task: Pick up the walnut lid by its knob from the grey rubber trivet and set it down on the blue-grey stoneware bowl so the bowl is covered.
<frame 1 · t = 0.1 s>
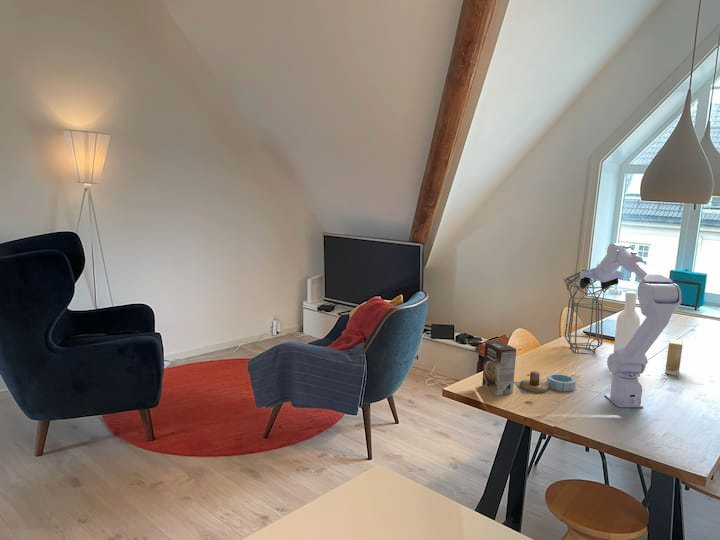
hand: (591, 286, 190), 32 cm above the table, tool tilted 50°, fingers open, 7 cm apart
bowl: (560, 388, 177), on the table
geometric lantern: (580, 351, 219), on the table
coffee box: (497, 392, 173), on the table
bottle: (623, 369, 198), on the table
skincare box: (671, 373, 195), on the table
lid: (533, 387, 175), point 1 cm above the table, touching trivet
trivet: (532, 389, 175), on the table
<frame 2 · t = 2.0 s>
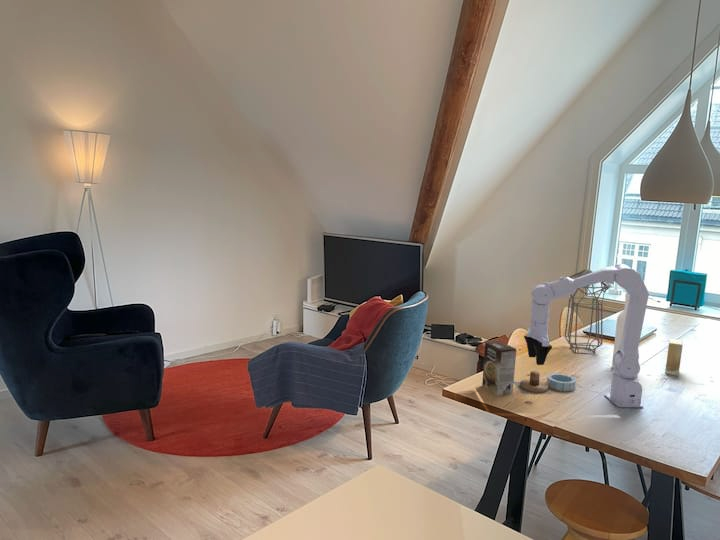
hand: (536, 360, 174), 10 cm above the table, tool pointing down, fingers open, 7 cm apart
nothing on the table moved.
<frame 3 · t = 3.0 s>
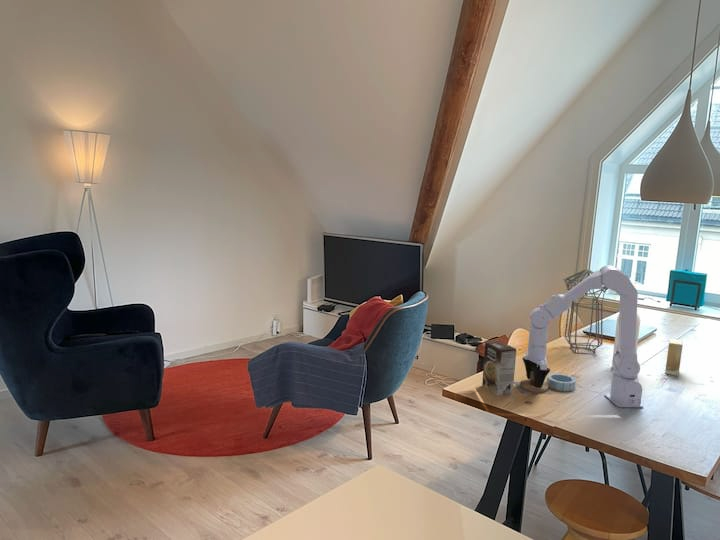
hand: (534, 383, 175), 2 cm above the table, tool pointing down, fingers open, 7 cm apart
nothing on the table moved.
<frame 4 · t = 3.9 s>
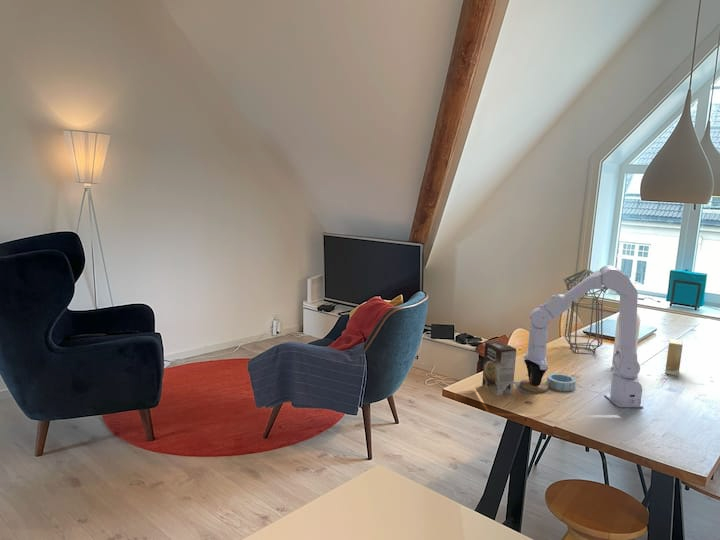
hand: (534, 383, 175), 2 cm above the table, tool pointing down, fingers closed on lid, 3 cm apart
lid: (533, 387, 175), point 1 cm above the table, touching gripper, trivet
everything else where it was.
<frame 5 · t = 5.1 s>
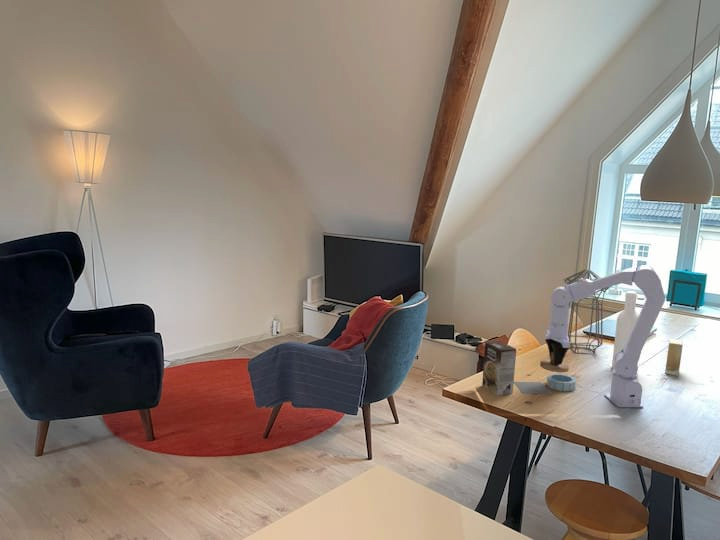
hand: (555, 362, 175), 9 cm above the table, tool pointing down, fingers closed on lid, 3 cm apart
lid: (554, 367, 176), point 7 cm above the table, touching gripper
everything else where it was.
when the fingers open (6 cm above the table, at t = 6.6 s): lid stays where it is, resting on bowl.
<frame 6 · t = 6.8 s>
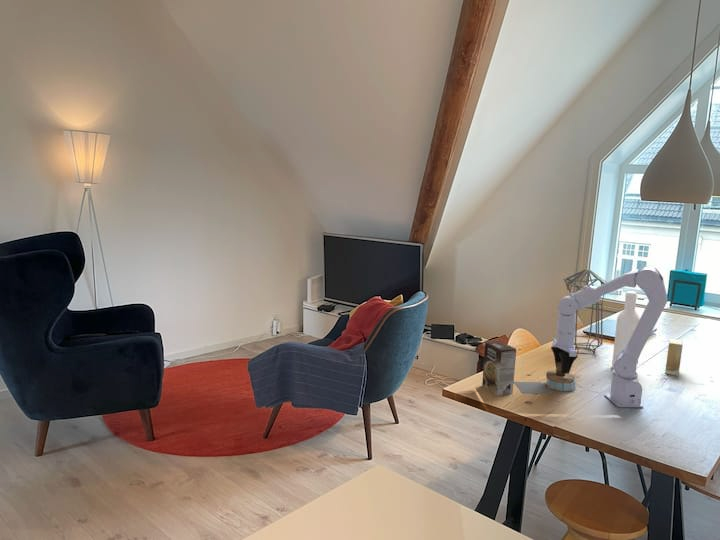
hand: (562, 370, 176), 6 cm above the table, tool pointing down, fingers open, 5 cm apart
lid: (560, 378, 177), point 3 cm above the table, touching bowl
everything else where it was.
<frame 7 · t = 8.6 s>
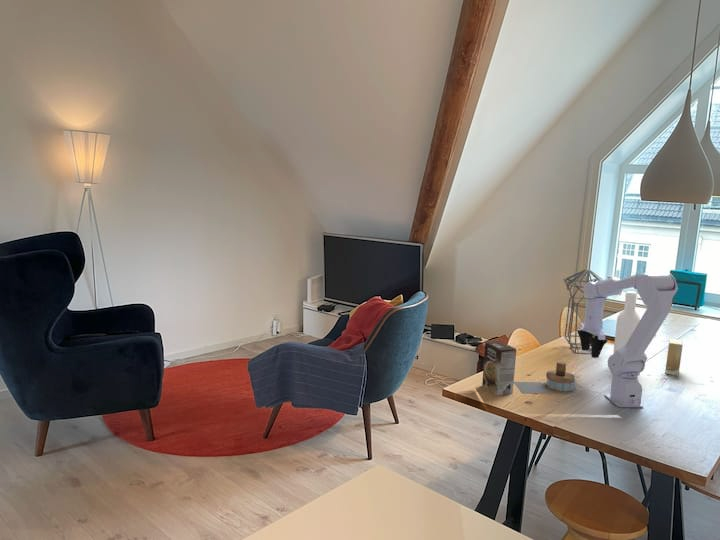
hand: (589, 353, 182), 10 cm above the table, tool pointing down, fingers open, 7 cm apart
nothing on the table moved.
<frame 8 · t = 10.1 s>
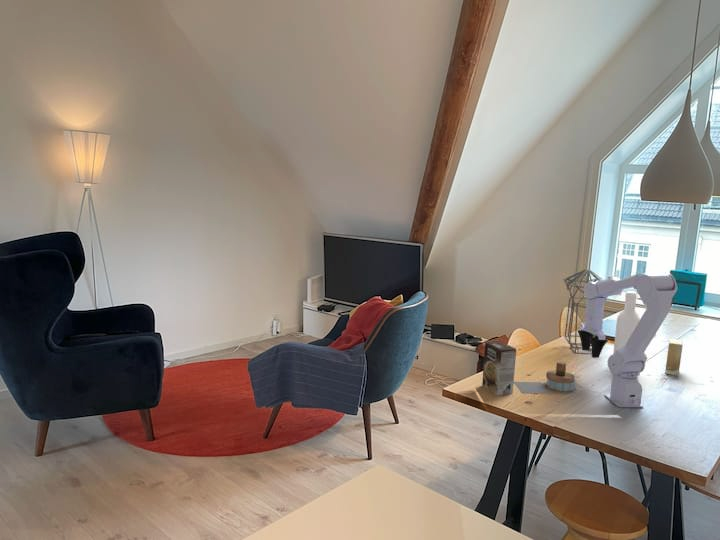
hand: (590, 353, 182), 10 cm above the table, tool pointing down, fingers open, 7 cm apart
nothing on the table moved.
at the end: lid 0.5 cm off-centre on the bowl, point 3.5 cm above the bowl's base; lid tilted 0°; the gripper is holding nothing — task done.
